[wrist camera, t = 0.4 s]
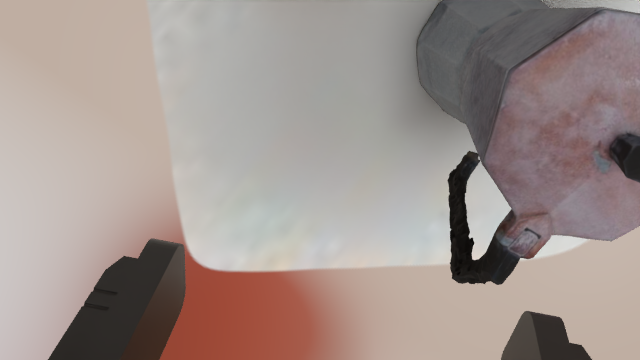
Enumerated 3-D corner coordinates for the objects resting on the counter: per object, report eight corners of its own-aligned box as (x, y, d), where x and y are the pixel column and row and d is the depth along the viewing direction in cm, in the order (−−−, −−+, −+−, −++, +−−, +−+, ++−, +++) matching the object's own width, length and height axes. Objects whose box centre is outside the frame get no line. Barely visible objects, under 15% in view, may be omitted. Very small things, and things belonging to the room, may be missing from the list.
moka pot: (616, -17, 35) (915, 63, 17) (476, 180, 41) (586, 391, 23) (488, -94, 33) (668, -96, 15) (363, 123, 39) (385, 304, 21)
